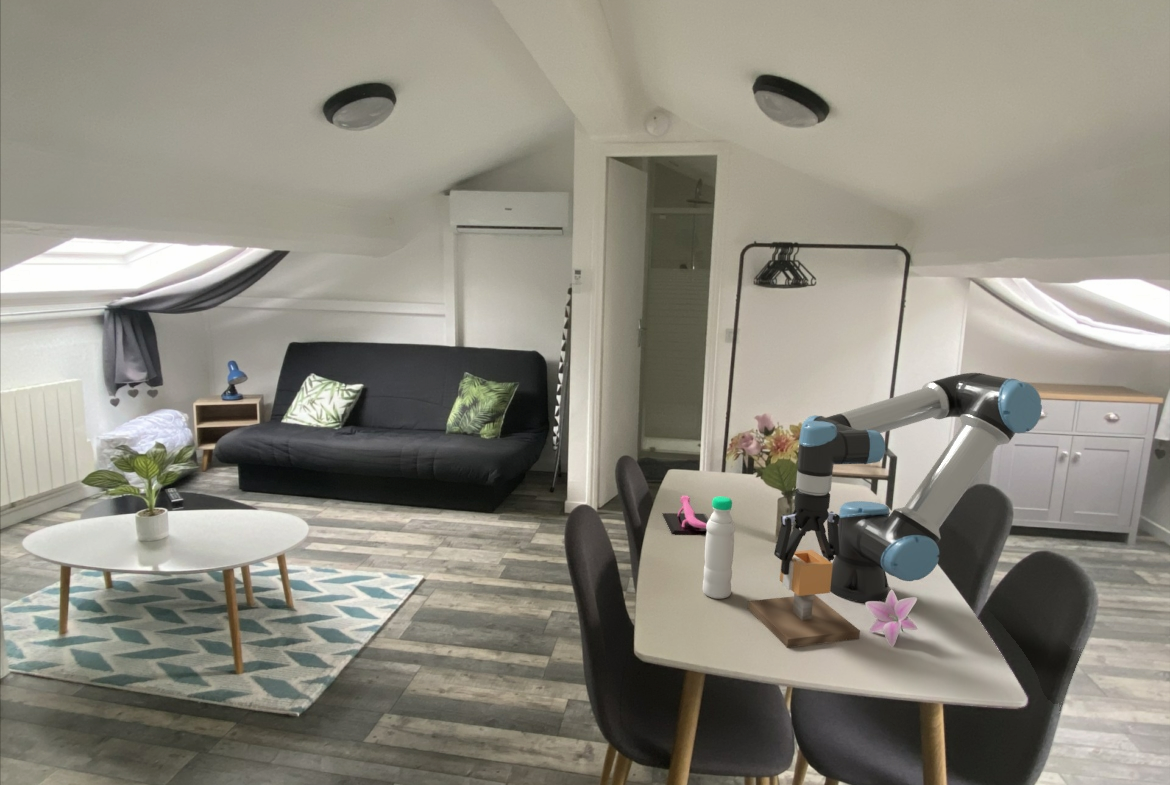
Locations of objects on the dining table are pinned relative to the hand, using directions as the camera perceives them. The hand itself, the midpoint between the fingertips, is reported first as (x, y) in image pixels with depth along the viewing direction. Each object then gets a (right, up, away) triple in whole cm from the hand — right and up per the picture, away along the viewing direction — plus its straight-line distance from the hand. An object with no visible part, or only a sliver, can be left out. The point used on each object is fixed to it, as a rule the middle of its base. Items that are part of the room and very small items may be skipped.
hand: (804, 585), depth 159 cm
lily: (+19, -11, -2) cm, 22 cm away
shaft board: (0, -9, +2) cm, 9 cm away
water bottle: (-17, -7, +16) cm, 24 cm away
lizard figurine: (-17, +1, +64) cm, 67 cm away
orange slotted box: (0, 0, 0) cm, 0 cm away
